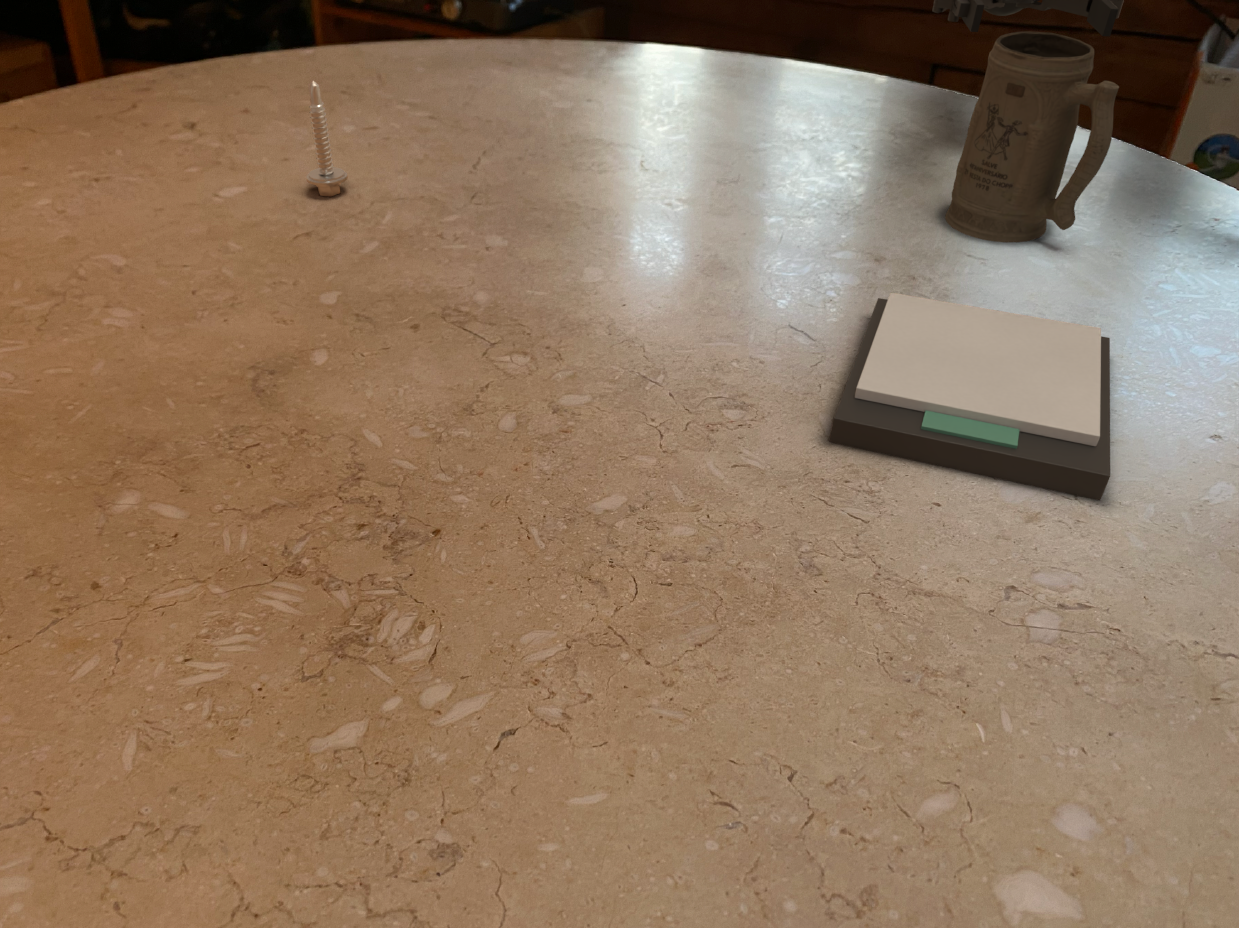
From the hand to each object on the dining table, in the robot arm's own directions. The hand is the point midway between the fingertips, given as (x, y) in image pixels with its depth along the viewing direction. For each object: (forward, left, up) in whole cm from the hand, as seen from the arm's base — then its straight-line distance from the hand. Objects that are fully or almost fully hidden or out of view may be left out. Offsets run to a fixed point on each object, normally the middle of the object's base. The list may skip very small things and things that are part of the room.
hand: (1043, 20), depth 110 cm
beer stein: (-3, +9, -20) cm, 22 cm away
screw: (+74, +27, -20) cm, 82 cm away
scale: (-2, +47, -20) cm, 51 cm away
